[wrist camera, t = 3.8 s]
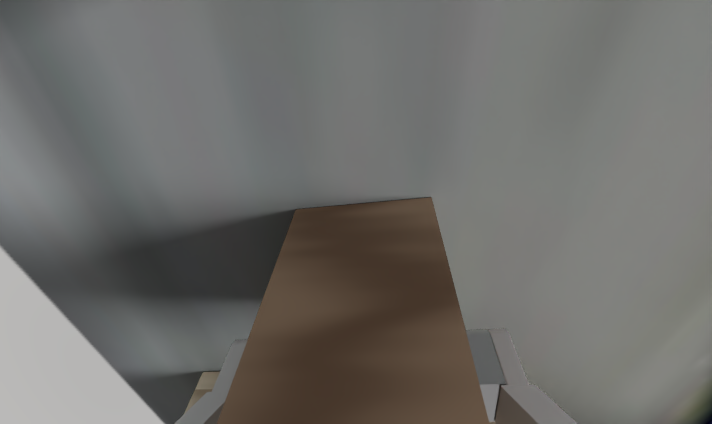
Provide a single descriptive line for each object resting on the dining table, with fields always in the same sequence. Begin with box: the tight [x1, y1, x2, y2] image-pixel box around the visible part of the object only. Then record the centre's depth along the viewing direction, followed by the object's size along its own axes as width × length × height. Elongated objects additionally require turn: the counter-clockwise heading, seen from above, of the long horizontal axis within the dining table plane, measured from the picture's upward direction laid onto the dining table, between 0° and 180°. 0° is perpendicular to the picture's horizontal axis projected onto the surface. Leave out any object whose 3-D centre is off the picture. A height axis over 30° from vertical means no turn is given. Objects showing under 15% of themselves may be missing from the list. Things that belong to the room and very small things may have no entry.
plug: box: [217, 197, 490, 424], centre depth 9 cm, size 5×5×11 cm
